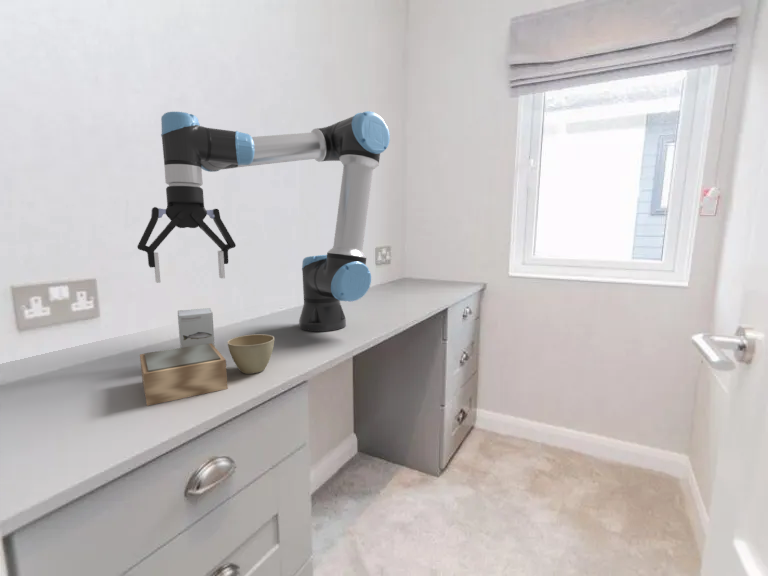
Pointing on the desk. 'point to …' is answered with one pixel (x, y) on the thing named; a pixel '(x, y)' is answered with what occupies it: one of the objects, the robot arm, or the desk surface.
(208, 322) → the supplement box
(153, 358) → the wooden box
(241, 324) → the desk surface
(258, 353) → the flower pot
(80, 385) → the desk surface
